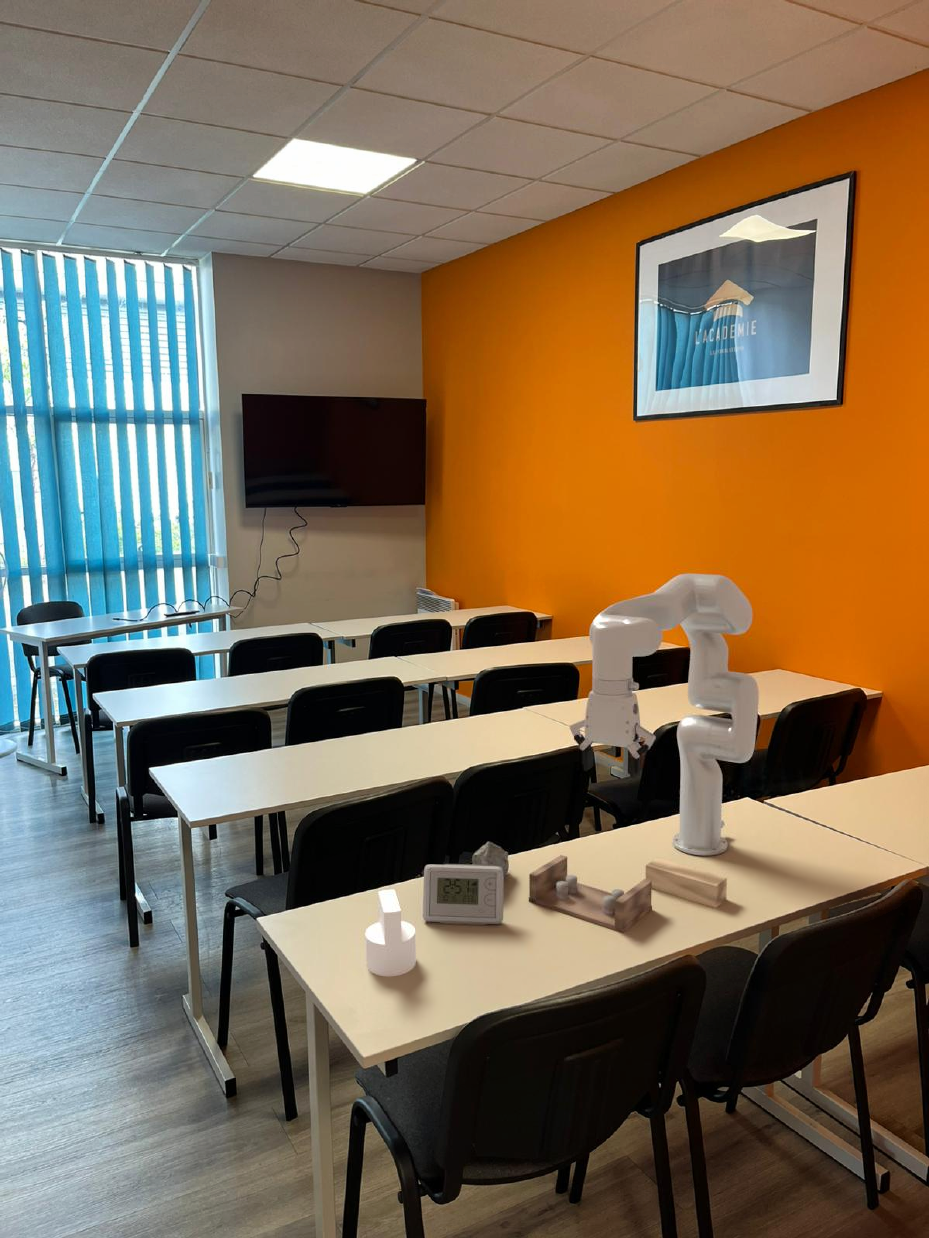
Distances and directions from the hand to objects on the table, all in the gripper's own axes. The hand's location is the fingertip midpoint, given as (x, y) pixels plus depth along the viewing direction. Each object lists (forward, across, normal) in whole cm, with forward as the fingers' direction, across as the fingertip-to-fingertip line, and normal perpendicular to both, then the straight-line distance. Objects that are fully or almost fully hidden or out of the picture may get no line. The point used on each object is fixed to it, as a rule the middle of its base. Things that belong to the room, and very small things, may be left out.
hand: (611, 772), depth 174 cm
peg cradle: (+30, +5, -2) cm, 30 cm away
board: (+30, -10, -18) cm, 36 cm away
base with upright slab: (+30, +27, +36) cm, 54 cm away
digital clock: (+30, +25, +16) cm, 42 cm away
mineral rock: (+30, +28, -1) cm, 41 cm away
